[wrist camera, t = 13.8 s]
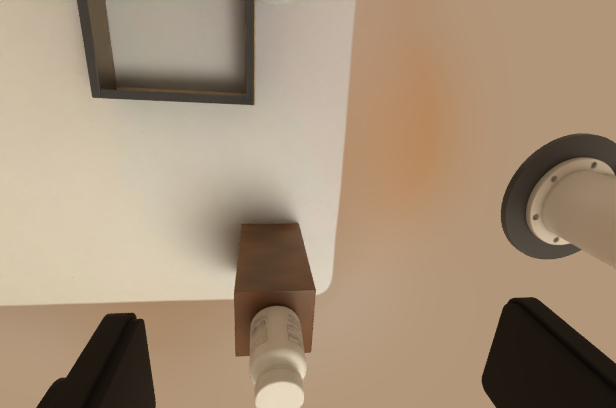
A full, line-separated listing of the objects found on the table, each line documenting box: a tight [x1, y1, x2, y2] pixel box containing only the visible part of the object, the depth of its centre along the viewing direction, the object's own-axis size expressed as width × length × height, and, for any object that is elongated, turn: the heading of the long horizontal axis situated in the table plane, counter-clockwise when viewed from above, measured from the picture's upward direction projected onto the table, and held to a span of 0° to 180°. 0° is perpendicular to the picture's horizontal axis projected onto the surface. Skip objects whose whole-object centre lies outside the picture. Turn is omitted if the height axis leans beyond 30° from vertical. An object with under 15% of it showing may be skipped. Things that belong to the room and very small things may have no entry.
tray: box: [77, 0, 255, 105], centre depth 32 cm, size 15×15×4 cm
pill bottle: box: [249, 306, 307, 408], centre depth 27 cm, size 4×4×8 cm
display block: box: [234, 224, 316, 356], centre depth 38 cm, size 7×7×14 cm
